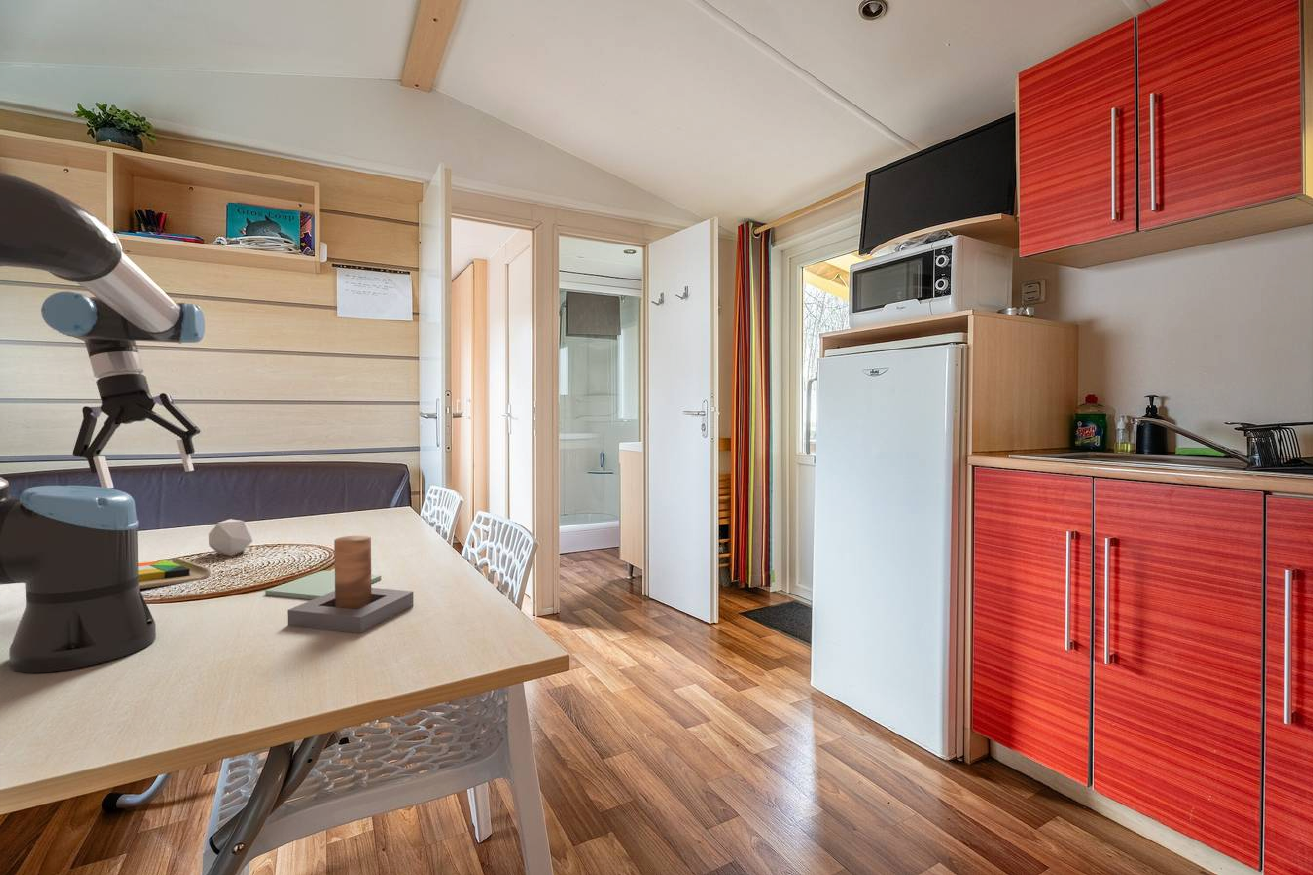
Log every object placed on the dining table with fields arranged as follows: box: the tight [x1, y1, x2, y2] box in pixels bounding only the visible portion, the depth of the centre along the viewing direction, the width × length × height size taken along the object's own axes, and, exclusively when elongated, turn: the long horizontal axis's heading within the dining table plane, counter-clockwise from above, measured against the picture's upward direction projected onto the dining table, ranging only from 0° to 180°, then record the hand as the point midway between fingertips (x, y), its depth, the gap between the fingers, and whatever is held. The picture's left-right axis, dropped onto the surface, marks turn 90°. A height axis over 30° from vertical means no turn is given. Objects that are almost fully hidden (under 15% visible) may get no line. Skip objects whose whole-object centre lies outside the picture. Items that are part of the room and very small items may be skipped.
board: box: [264, 570, 382, 600], centre depth 117 cm, size 14×14×1 cm
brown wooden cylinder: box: [333, 535, 372, 609], centre depth 102 cm, size 6×6×13 cm
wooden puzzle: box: [138, 557, 212, 590], centre depth 119 cm, size 18×19×4 cm
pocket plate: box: [286, 587, 414, 634], centre depth 102 cm, size 14×14×2 cm
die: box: [208, 519, 253, 557], centre depth 141 cm, size 8×9×10 cm
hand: (149, 479), depth 121 cm, fingers open, 13 cm apart
